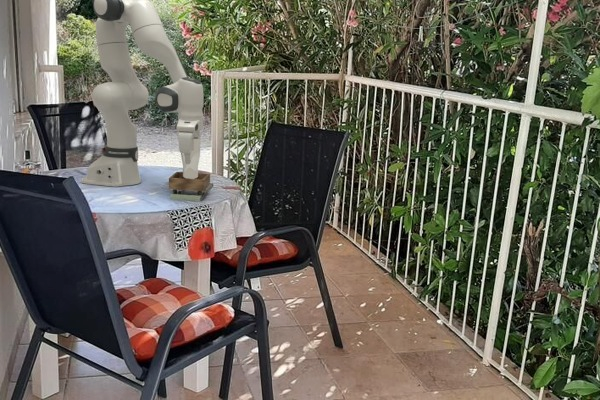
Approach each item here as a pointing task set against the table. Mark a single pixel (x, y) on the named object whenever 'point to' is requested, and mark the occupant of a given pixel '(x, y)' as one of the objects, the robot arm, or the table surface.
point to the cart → (189, 183)
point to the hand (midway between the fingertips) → (190, 162)
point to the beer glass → (192, 162)
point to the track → (190, 195)
